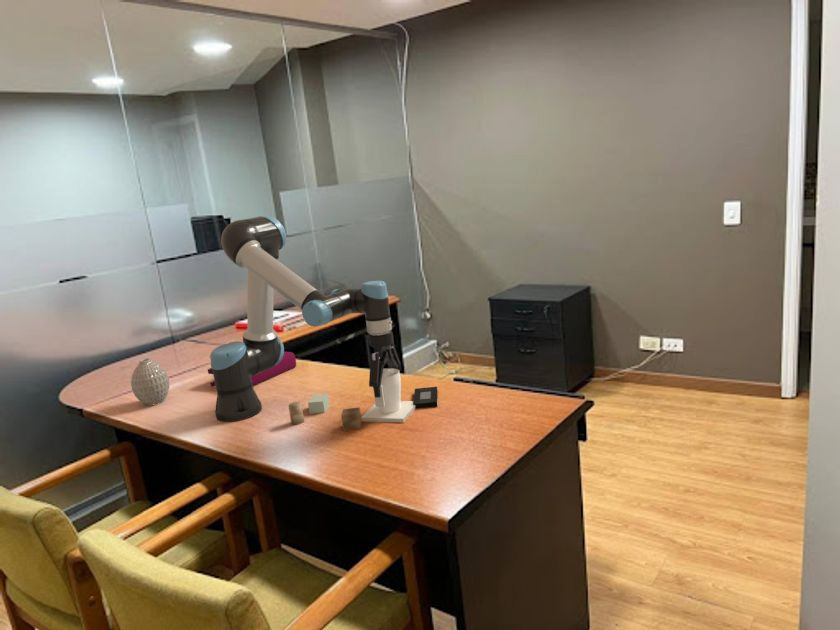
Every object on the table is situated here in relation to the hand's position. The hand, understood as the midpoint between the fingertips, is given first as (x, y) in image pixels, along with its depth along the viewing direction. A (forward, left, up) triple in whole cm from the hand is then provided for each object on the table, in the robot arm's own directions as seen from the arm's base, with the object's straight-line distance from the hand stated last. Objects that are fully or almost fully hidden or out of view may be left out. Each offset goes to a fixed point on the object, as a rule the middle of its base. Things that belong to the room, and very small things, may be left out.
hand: (388, 398), depth 193 cm
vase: (-97, +5, -5) cm, 97 cm away
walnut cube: (-8, -11, -5) cm, 14 cm away
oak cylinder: (-28, -9, -5) cm, 30 cm away
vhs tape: (+8, +12, -5) cm, 15 cm away
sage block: (-26, +2, -5) cm, 27 cm away
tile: (0, 0, -5) cm, 5 cm away
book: (-73, +34, -6) cm, 81 cm away
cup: (0, 0, -4) cm, 4 cm away
